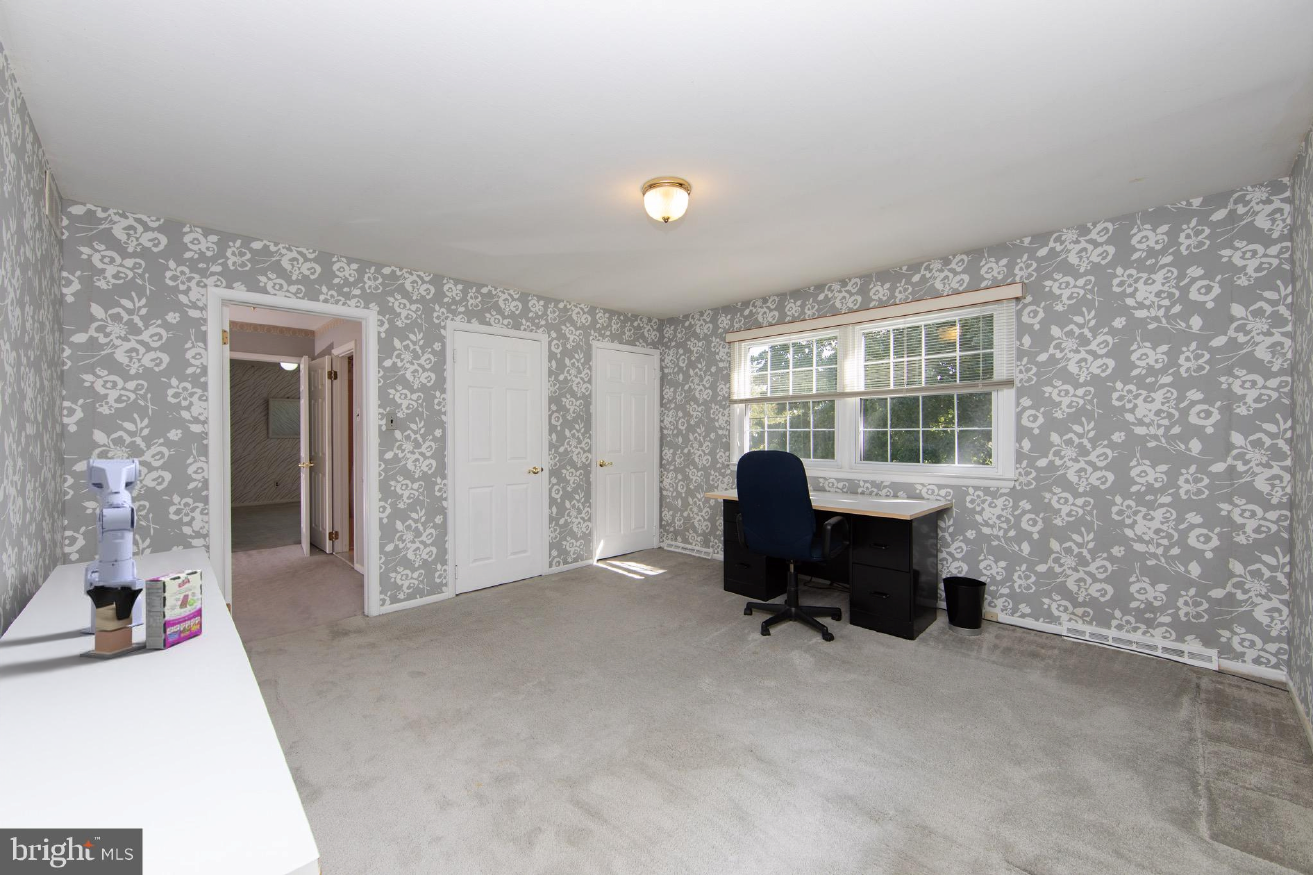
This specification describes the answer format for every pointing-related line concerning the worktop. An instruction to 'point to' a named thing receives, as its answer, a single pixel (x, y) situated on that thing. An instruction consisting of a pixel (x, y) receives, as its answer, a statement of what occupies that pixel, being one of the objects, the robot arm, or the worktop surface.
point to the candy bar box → (173, 608)
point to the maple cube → (109, 619)
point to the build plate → (113, 654)
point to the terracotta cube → (113, 639)
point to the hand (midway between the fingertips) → (114, 618)
